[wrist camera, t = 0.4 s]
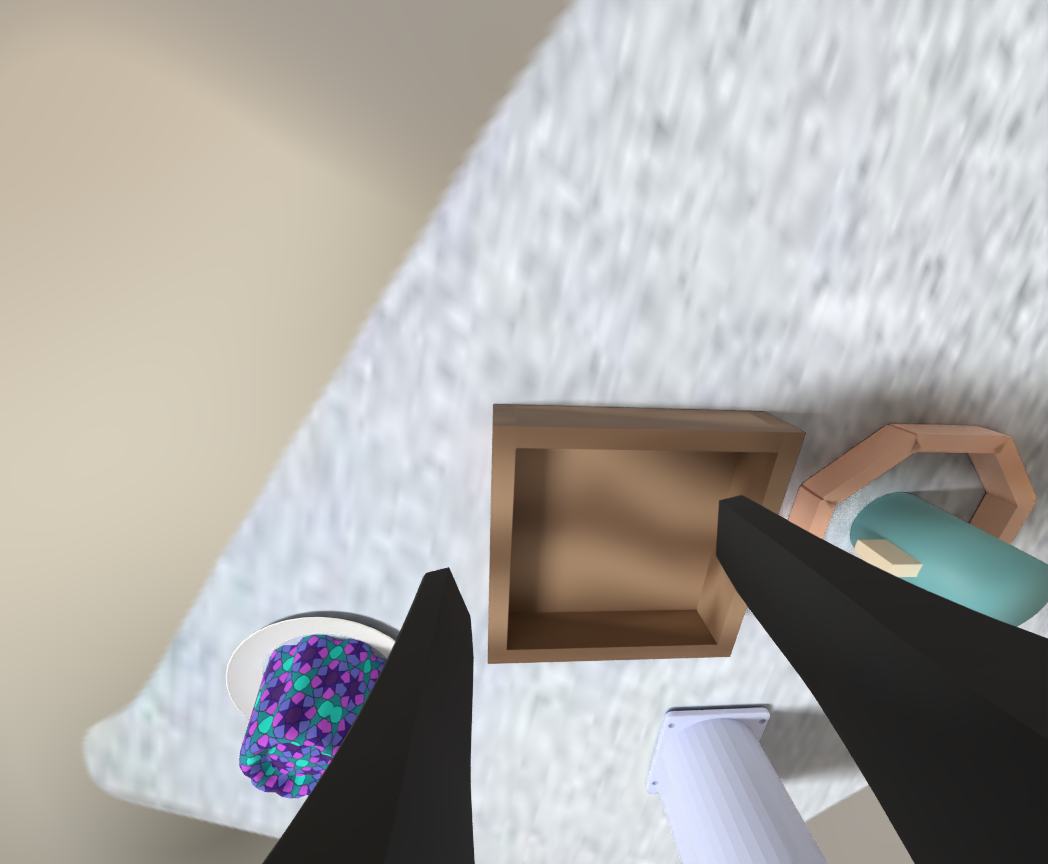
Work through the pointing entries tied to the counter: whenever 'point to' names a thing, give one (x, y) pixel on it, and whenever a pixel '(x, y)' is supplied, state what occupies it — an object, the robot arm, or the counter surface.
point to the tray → (622, 528)
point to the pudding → (301, 697)
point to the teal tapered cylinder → (950, 557)
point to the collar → (896, 442)
